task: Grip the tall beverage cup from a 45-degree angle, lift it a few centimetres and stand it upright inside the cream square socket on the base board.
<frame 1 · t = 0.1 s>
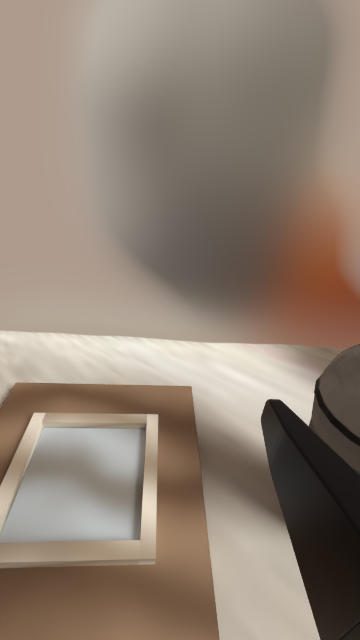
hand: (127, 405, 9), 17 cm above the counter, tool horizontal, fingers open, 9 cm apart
base board: (85, 486, 24), on the counter
beverage cup: (316, 512, 23), on the counter
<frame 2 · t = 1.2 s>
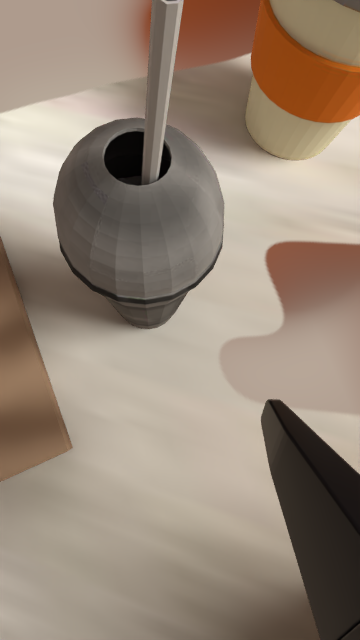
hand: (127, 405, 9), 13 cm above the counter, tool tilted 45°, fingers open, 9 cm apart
reusable coffee cup: (288, 124, 30), on the counter
beverage cup: (147, 302, 24), on the counter
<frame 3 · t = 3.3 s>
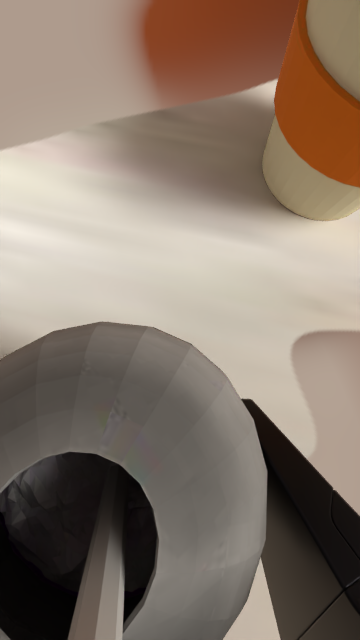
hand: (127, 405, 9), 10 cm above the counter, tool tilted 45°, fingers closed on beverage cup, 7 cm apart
reusable coffee cup: (315, 172, 24), on the counter
beverage cup: (139, 422, 19), on the counter, touching gripper
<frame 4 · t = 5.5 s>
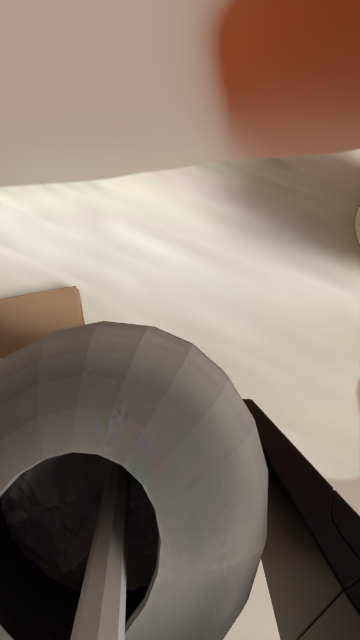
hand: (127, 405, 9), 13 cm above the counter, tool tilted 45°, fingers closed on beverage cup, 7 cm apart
beverage cup: (139, 420, 19), point 3 cm above the counter, touching gripper
when the fingers open (11 cm above the counter, at t = 7.5 s): beverage cup stays where it is, resting on base board.
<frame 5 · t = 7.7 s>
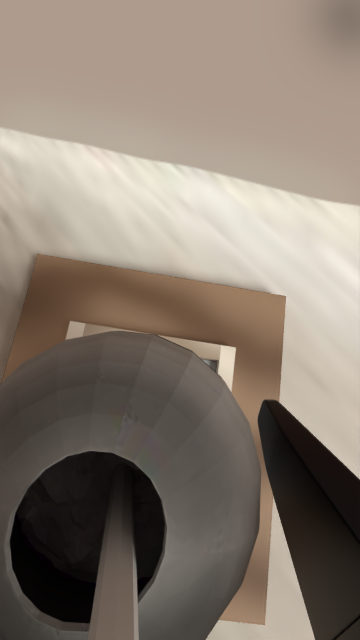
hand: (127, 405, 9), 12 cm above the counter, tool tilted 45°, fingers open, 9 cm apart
base board: (140, 418, 20), on the counter
beverage cup: (138, 422, 19), point 1 cm above the counter, touching base board
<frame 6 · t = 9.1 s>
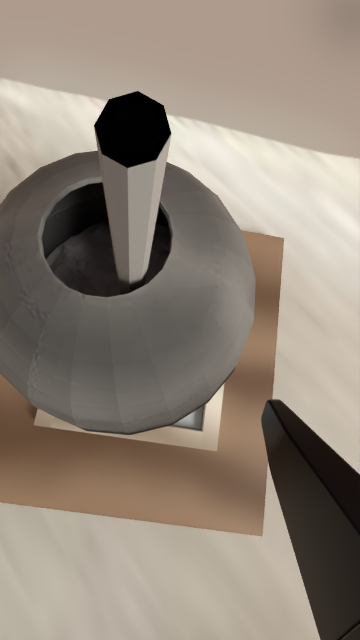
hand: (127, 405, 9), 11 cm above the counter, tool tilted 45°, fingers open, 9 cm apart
base board: (143, 351, 21), on the counter
beverage cup: (142, 351, 20), point 1 cm above the counter, touching base board
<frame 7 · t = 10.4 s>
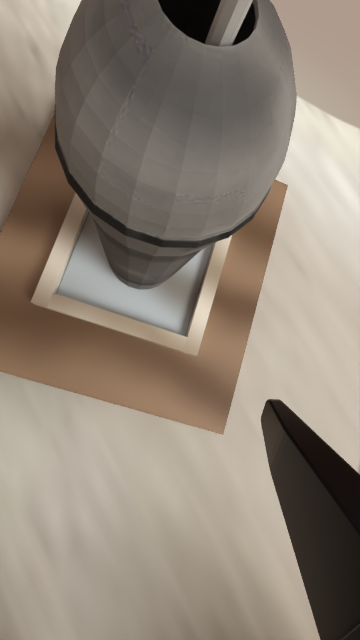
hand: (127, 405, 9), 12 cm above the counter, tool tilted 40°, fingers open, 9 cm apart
base board: (141, 262, 22), on the counter
beverage cup: (142, 259, 21), point 1 cm above the counter, touching base board
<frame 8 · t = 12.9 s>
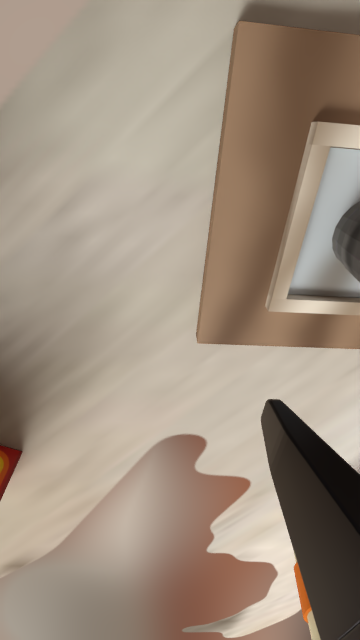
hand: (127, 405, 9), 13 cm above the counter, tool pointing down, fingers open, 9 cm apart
base board: (358, 228, 20), on the counter
reusable coffee cup: (320, 515, 41), on the counter
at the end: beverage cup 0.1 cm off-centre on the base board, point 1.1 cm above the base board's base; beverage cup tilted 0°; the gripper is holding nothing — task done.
